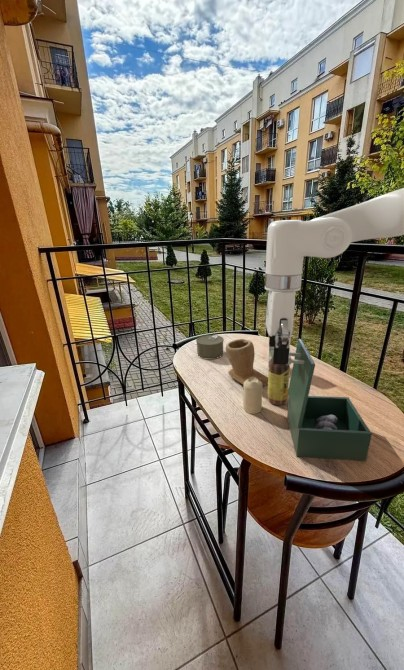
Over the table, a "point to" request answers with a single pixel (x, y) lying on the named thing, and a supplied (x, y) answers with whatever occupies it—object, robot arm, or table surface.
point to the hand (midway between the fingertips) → (277, 354)
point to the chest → (330, 430)
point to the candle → (252, 395)
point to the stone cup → (243, 361)
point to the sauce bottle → (278, 383)
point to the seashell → (326, 422)
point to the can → (210, 346)
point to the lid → (300, 381)
